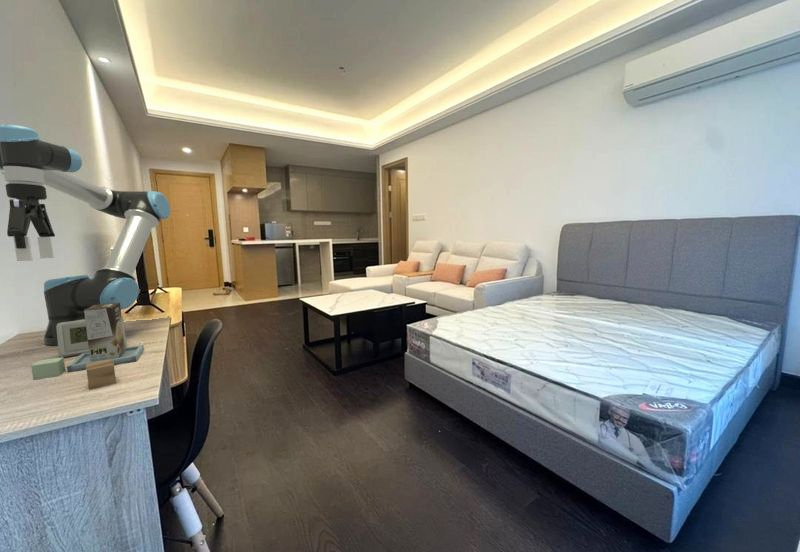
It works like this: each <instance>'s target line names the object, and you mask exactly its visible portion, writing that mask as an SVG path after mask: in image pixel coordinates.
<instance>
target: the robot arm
mask: <svg viewBox="0 0 800 552" xmlns="http://www.w3.org/2000/svg"><path fill="white" fill-rule="evenodd" d="M82 159H83V158H82V156H81V155H80V154H79V153H78V152H77V151H75V150H74V149H71V148H68V147H67V146H66V147H65V146H64V145H63V146H62V145H58V144H55V143H50V142H47V141H43V140H42V139H40V137H39V134H38V131H36V130H35V129H33V128H30V127H26V126H23V125H22V126H21V125H17V124H0V171H1V172H0V173H1V175H4V181H5V182H7V183H6V184H5V191H6V196H7V197H8V198H10V199H9V214H8V222H7V229H6V230H7V231H6V232H7V237H8V238H9V237H13V243H14V250H15V256H16V257H15V258H16V262H27V261H28V262H31V261H33V254H32V246H31V240H30V236H28V231H29V229H30V225H31V224H32V225H33V227H34V229H35V231H36V233H37V235H38V236H37V245H38V250H39V251H38V252H39V256H40V259H54V256H55V255H54V250H53V242H52V237H53V238H54V237H55V236H56V233H54V230H53V227H52V224H51V221H50V218H49V216H48V213H47V208H46V205H45V204H44V203H40V200H41V201H43V200H46V199H48V196H47V191H46V190H47V189H46V187H45V186H47V187H50V188H52V189H54V190H57V191H59V192H61V193H64V194H66V195H68V196H70V197H73V198H74V199H77V200H80V201H82V202H84V203H87V204H88V206H89V207H91V208H92V209H94V210H96V211H99V212H102V213H104V214H107V215H109V216H113V217H115V218H120V219H124V220H126V221H125V222H124V225H123V227H122V229H121V231H120V234H119V235H118V238H117V240H116V242H115V244H114V246H113V249H112V250H111V252H110V254H109V257H108V258H107V261H106V263H105V265H104V267H101V268H98V269H97V270H96V271H95V273H94V275H93V277H92V278H90V276H89V275H88V274H82V275H81V274H80V275H72V276H66V277H59V278H58V277H57V278H51V279H48V280H46V281H44V282H43V293H44V301H45V306H46V307H45V308H46V313H47V317H48V318H47V319H48V323H47V326H46V330H45V333H44V337H43V340H44V343H43V344H44V345H45V346H58V340H57V329H56V326H57V324H58V323H62V322H70V321H75V320H83V319H85V314H84V310H85V309H87V308H89V307H91V306H93V305H99V304H108V303H120V307H121V311H122V310H126V309H129V308H130V307H131V306H132V305H134V304H135V302H136V301H137V300H138V297H139V293H140V291H139V284H138V283H137V282H136V277H135V276H134V273H135V270H136V268H137V265H138V263H139V260H140V258H141V256H142V253H143V251H144V248H145V246H146V243H147V242H148V240H149V237H150V234H151V231H152V229H154V228H156V227H158V226H159V225H160V224H159V223H160V222H161V220H166V219H169V217H170V215H171V205H170V203H169V200H168V198H167V197H166V196H165V195H164V194H163V193H162V192H160V191H156V190H155V191H152V190H147V191H146V190H145V191H137V190H136V191H132V190H131V191H130V190H129V191H128V190H127V191H123V190H114V189H110V188H108V187H105V186H99V185H97V184H94V183H93V182H90V181H88V180H86V179H84V178H83V177H80V176H78V175H76V174H74V173H76V172H78V171H79V170H81V167H82V165H83V160H82Z"/></svg>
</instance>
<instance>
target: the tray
mask: <svg viewBox="0 0 800 552" xmlns="http://www.w3.org/2000/svg"><path fill="white" fill-rule="evenodd" d="M144 350H145V348H144V344H142V345H141V344H140V345H139V344H138V345H134V346H125V352H124V354H123V355H122V356H121V357H120V358H115V359H113V363H114V366H115V365H123V364H127V363H128V364H129V363H135V362H137V361H138V360H139V358H140V357H141V355H142V354H143V352H144ZM108 360H112V359H108ZM102 361H107V360H101V361H95V362H90V354H89V352H88V353H82V354H81V355H78V356H76V358H75V359H73V361H72V362H70V363H69V364H68V365H67V366H66V371H67V373H72V372H78V371H84V370H86V365H87V364H92V363H97V362H102Z"/></svg>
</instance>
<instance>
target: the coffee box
mask: <svg viewBox="0 0 800 552" xmlns="http://www.w3.org/2000/svg"><path fill="white" fill-rule="evenodd" d="M84 314H85V322H86V330H87V339H88V346H89V354H90V362H95V361H101V360H108V359H115V358H120V357H121V356H122V355H123V354H124V352H125V347H126V345H125V342H124V334H123V325H122V317H123V315H122V310H121V307H120V303H108V304H99V305H93V306H91V307H89V308H87V309H85V310H84Z"/></svg>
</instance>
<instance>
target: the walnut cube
mask: <svg viewBox="0 0 800 552" xmlns="http://www.w3.org/2000/svg"><path fill="white" fill-rule="evenodd" d="M85 370H86V376H87V378H86V379H87V384H88V390H93V389H98V388H102V387H106V386H109V385H113V384H116V383H117V380H116V371H115V365H114V363H113V359H112V360H107V361H102V362H97V363H92V364H87V365H86V369H85Z"/></svg>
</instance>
